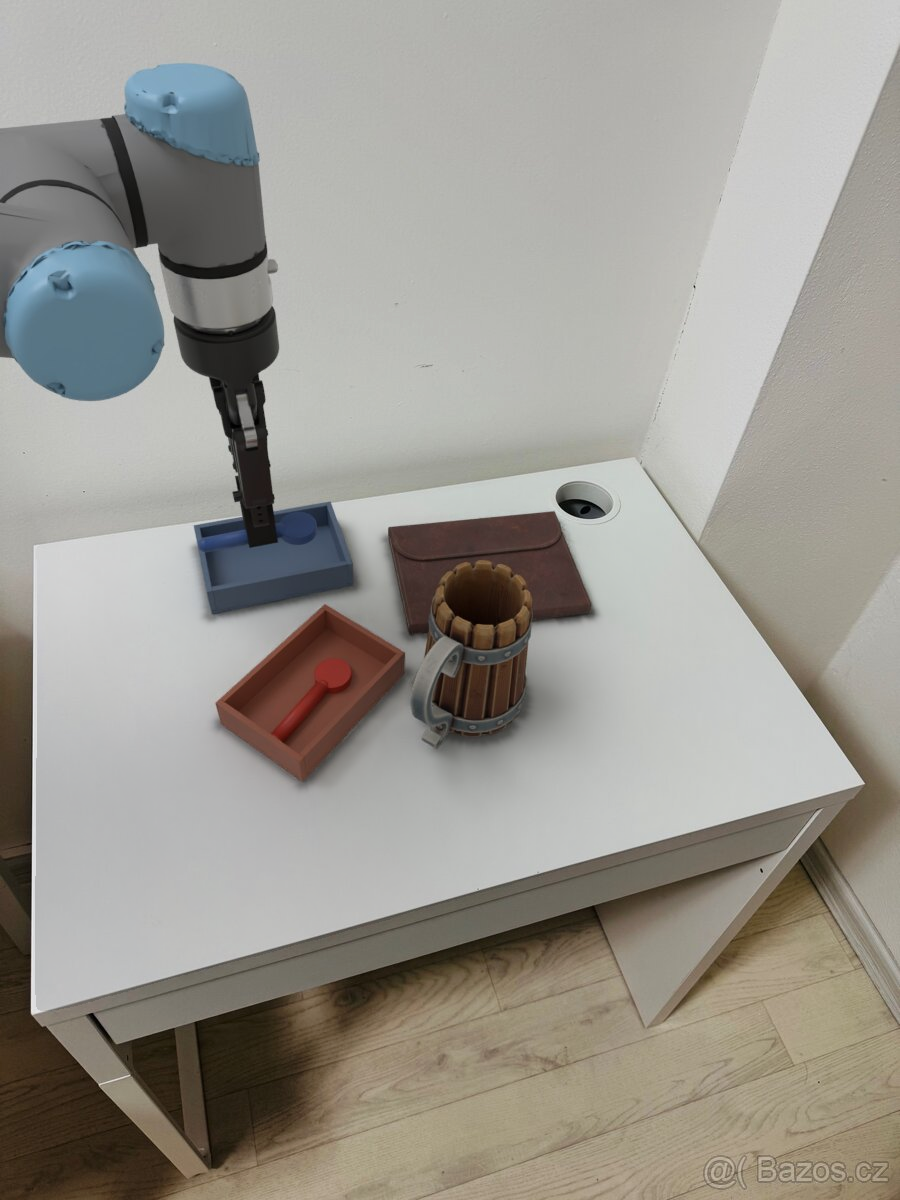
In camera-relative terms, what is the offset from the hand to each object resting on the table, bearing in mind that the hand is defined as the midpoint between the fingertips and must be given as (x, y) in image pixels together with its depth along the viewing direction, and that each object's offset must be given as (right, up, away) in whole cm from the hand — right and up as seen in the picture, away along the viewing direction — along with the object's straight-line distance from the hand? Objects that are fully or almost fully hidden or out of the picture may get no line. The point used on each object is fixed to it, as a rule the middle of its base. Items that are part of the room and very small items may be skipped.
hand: (261, 534), depth 80 cm
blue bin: (-1, -3, +12) cm, 13 cm away
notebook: (+22, -4, +13) cm, 26 cm away
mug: (+19, -17, +1) cm, 26 cm away
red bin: (+5, -16, +1) cm, 17 cm away
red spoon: (+5, -16, 0) cm, 17 cm away
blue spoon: (0, 0, 0) cm, 1 cm away
